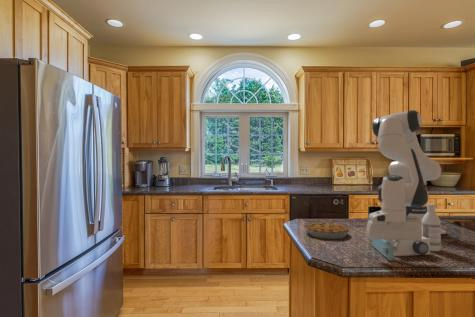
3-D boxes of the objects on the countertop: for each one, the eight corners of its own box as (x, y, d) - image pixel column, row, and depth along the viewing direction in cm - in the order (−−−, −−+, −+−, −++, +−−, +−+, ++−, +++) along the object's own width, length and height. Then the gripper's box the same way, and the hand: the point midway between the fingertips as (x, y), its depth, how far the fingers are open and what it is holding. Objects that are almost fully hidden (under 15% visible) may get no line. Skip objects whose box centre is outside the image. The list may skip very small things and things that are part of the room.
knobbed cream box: (408, 245, 137) (408, 229, 137) (434, 256, 122) (434, 238, 122) (375, 246, 136) (375, 230, 136) (397, 258, 120) (397, 240, 120)
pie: (352, 241, 145) (352, 231, 145) (306, 239, 149) (306, 229, 149) (345, 230, 166) (345, 221, 166) (305, 228, 171) (305, 220, 171)
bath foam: (423, 245, 137) (423, 202, 136) (441, 249, 132) (441, 203, 132) (420, 249, 131) (420, 204, 131) (439, 252, 127) (439, 205, 127)
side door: (374, 245, 136) (374, 231, 136) (393, 261, 116) (393, 244, 116) (369, 245, 137) (369, 231, 137) (387, 261, 116) (387, 244, 116)
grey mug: (381, 235, 156) (381, 206, 156) (394, 242, 142) (394, 211, 142) (364, 234, 156) (364, 206, 156) (375, 242, 142) (375, 211, 142)
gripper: (417, 215, 122) (417, 249, 122) (365, 214, 124) (365, 247, 124) (425, 218, 116) (425, 253, 116) (369, 216, 118) (369, 251, 118)
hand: (393, 250), depth 120 cm, fingers closed
